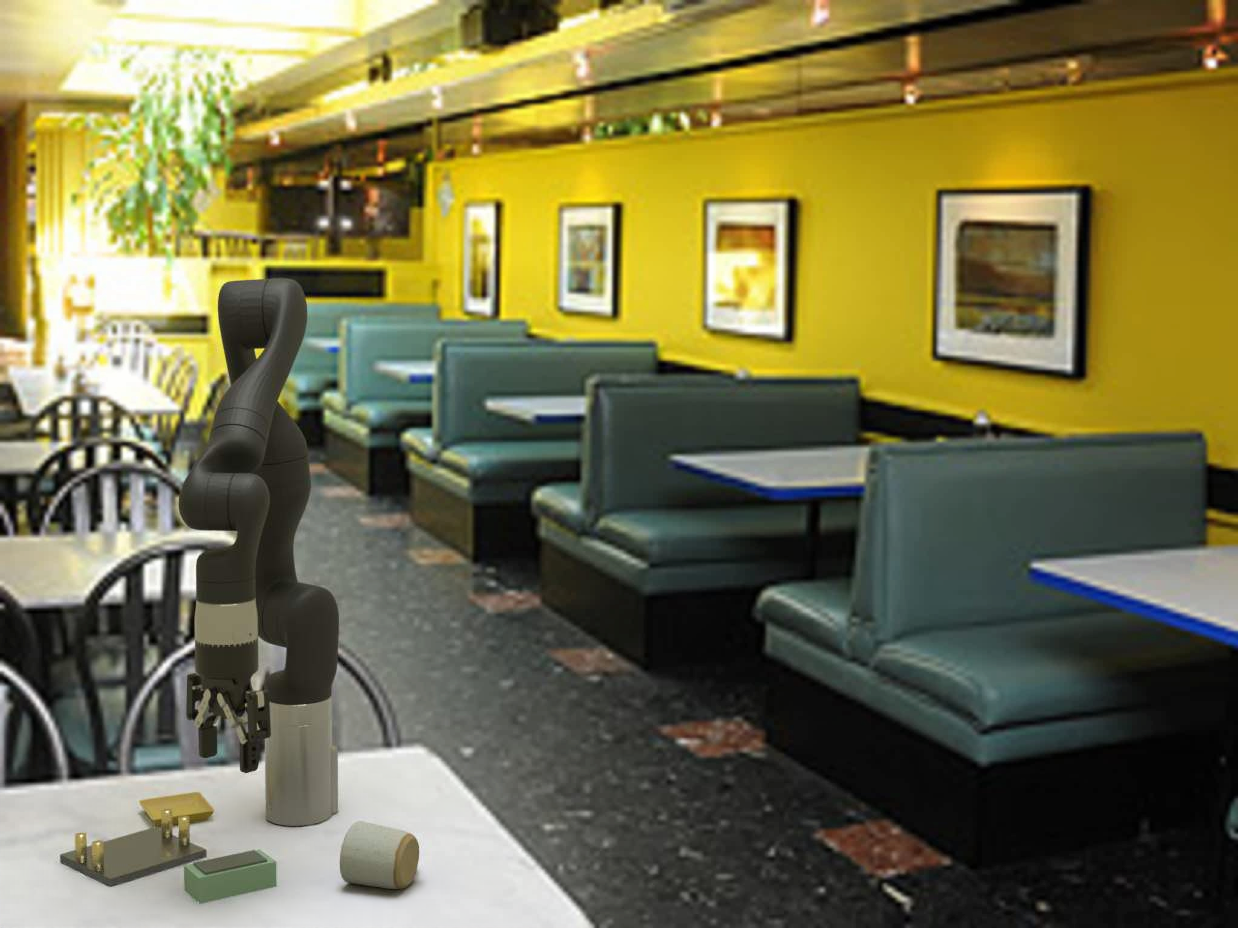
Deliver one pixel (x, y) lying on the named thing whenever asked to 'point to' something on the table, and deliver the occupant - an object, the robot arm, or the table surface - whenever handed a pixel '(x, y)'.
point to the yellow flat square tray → (178, 807)
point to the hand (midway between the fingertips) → (228, 763)
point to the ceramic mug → (378, 856)
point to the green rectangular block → (229, 875)
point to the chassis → (135, 852)
